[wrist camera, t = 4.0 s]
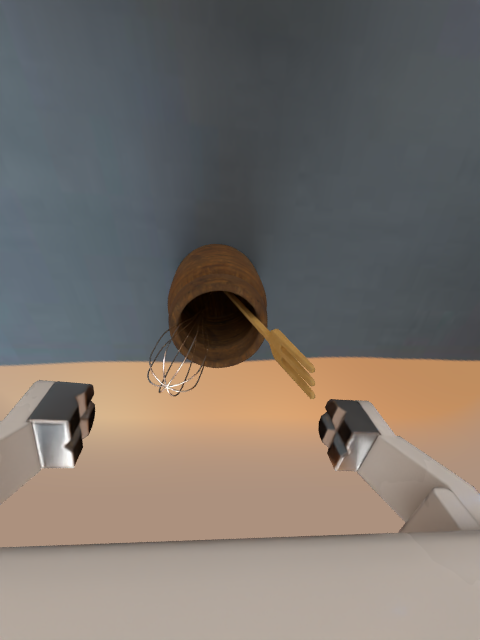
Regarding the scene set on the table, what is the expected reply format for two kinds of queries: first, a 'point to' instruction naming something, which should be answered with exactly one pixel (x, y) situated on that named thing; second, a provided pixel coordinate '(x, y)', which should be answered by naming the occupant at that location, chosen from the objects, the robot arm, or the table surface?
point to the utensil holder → (224, 316)
